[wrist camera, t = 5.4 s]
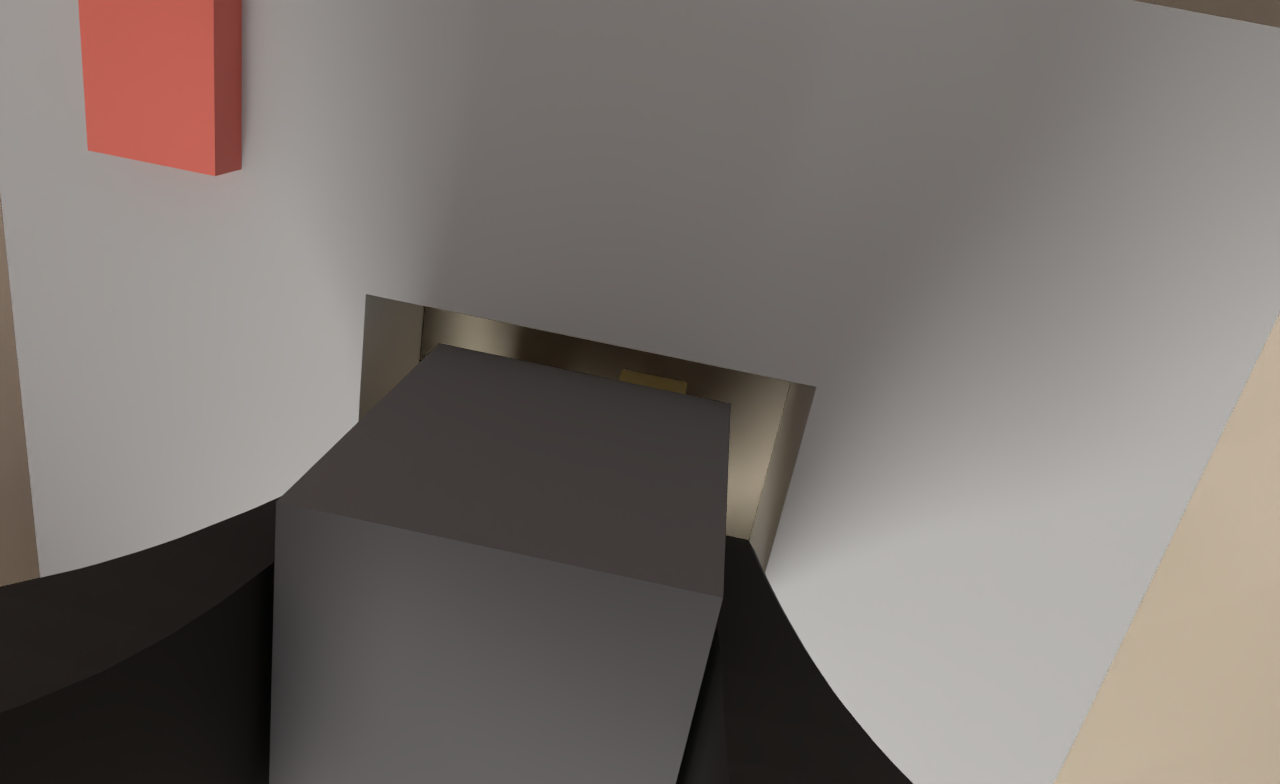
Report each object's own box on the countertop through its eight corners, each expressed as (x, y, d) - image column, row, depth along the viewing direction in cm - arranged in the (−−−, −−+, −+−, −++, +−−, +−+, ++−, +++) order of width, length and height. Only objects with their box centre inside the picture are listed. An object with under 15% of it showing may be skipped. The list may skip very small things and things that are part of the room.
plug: (680, 588, 15) (640, 918, 9) (446, 538, 15) (267, 832, 9) (732, 366, 13) (723, 598, 8) (471, 312, 13) (276, 501, 8)
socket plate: (916, 891, 18) (948, 1055, 15) (150, 717, 18) (39, 843, 16) (1273, 48, 12) (1447, 51, 9) (106, -172, 12) (-89, -237, 9)
